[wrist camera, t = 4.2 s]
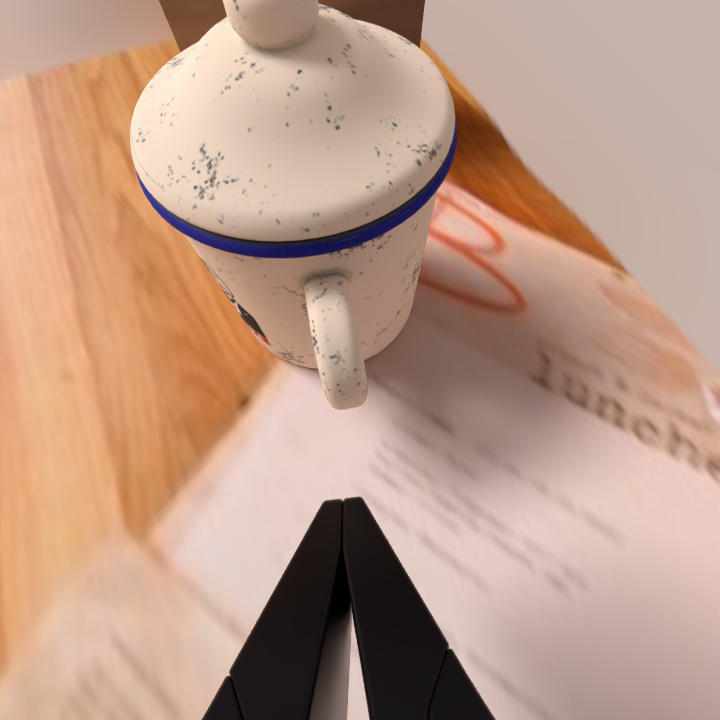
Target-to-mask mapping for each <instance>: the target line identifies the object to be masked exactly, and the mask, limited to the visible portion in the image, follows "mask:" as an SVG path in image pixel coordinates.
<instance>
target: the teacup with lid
mask: <svg viewBox="0 0 720 720" xmlns="http://www.w3.org/2000/svg"><path fill="white" fill-rule="evenodd" d="M223 3H224V7H225V10H226V14H227V17H226V18H224V19H222V20H221V21H220V22H218V23H217V24H216V25H214V26H213V27H212V28H211V29H210V30H209V31H208V32H207V33H206V34H205V35H204V36H203V37H202V38H201V40H200V41H199V42H197V43H195V44H193V45H192V46H190V47H188V48H187V49H185V50H184V51H182V52H181V53H179V54H178V55H177V56H175V57H174V58H173V59H171V60H170V61H169V62H168V63H167V64H166V65H164V66H163V67H162V68H161V69H160V70H159V71H158V72H157V73H156V74H155V76H154V77H153V78H152V79H151V81H150V82H149V83H148V85H147V86H146V88H145V89H144V91H143V92H142V94H141V96H140V98H139V100H138V102H137V104H136V107H135V110H134V113H133V117H132V123H131V132H130V143H131V152H132V159H133V162H134V165H135V169H136V172H137V176H138V179H139V182H140V185H141V187H142V189H143V191H144V194H145V195H146V197H147V198H148V200H149V201H150V203H151V204H152V206H153V207H154V208H155V210H156V211H157V212H158V213H159V214H160V215H161V216H162V217H163V218H164V219H165V220H166V221H167V222H168V223H170V224H171V225H172V226H173V227H174V228H176V229H177V230H179V231H180V232H182V233H183V234H184V235H185V237H186V238H187V239H188V241H189V242H190V244H191V245H192V247H193V248H194V249H195V251H196V252H197V254H198V255H199V257H200V258H201V260H202V261H203V262H204V264H205V265H206V267H207V268H208V270H209V271H210V272H211V274H212V275H213V277H214V278H215V280H216V281H217V282H218V284H219V285H220V287H221V288H222V290H223V291H224V293H225V294H226V295H227V297H228V298H229V300H230V301H231V303H232V304H233V305H234V307H235V308H236V310H237V311H238V313H239V314H240V315H241V317H242V318H243V320H244V321H245V323H246V324H247V326H248V327H249V328H250V330H251V331H252V333H253V334H254V336H255V337H256V338H257V339H258V341H259V342H260V343H261V344H262V345H263V346H264V347H265V348H266V349H268V350H269V351H270V352H272V353H273V354H274V355H276V356H278V357H279V358H281V359H283V360H285V361H288V362H290V363H293V364H296V365H299V366H303V367H309V368H317V369H318V370H319V374H320V378H321V382H322V386H323V389H324V393H325V395H326V398H327V400H328V402H329V403H330V405H331V406H332V407H334V408H335V409H339V410H343V409H349V408H354V407H358V406H360V405H362V404H363V403H364V401H365V400H366V397H367V378H366V371H365V364H364V360H366V359H368V358H370V357H372V356H374V355H376V354H377V353H379V352H380V351H381V350H383V349H384V348H385V347H387V346H388V345H389V344H390V343H391V342H392V341H393V340H394V339H395V338H396V337H397V335H398V334H399V333H400V332H401V330H402V328H403V327H404V325H405V324H406V321H407V319H408V317H409V315H410V312H411V309H412V305H413V300H414V296H415V291H416V286H417V282H418V277H419V273H420V268H421V263H422V259H423V254H424V249H425V245H426V240H427V236H428V231H429V226H430V222H431V217H432V212H433V208H434V203H435V199H436V194H437V189H438V188H439V187H440V185H441V184H442V182H443V181H444V179H445V177H446V175H447V173H448V171H449V169H450V166H451V163H452V160H453V157H454V153H455V148H456V139H457V129H456V120H455V109H454V104H453V100H452V96H451V93H450V90H449V88H448V85H447V83H446V80H445V78H444V77H443V75H442V73H441V71H440V70H439V68H438V67H437V66H436V65H435V63H434V62H433V61H432V60H431V59H430V58H429V56H428V55H427V54H426V53H424V52H423V51H422V50H421V49H420V48H418V47H417V46H416V45H415V44H413V43H412V42H410V41H409V40H407V39H406V38H404V37H402V36H400V35H398V34H397V33H394V32H392V31H390V30H388V29H386V28H383V27H380V26H377V25H374V24H371V23H368V22H364V21H360V20H355V19H352V18H351V17H349V16H348V15H346V14H344V13H342V12H340V11H338V10H336V9H334V8H331V7H328V6H325V5H322V4H319V3H318V0H223Z"/></svg>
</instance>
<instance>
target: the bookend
mask: <svg viewBox="0 0 720 720" xmlns="http://www.w3.org/2000/svg"><path fill="white" fill-rule="evenodd" d="M159 1H160V4H161V6H162V9H163V11H164V13H165V16H166V18H167V20H168V23H169V25H170V28H171V30H172V32H173V34H174V37H175V40H176V42H177V44H178V47H179V49H180V51H181V52H182V51H184V50H185V49H187V48H188V47H190V46H192V45H193V44H195V43H197V42H199V41H200V40H201V38H202V37H203V36H204V35H205V34H206V33H207V32H208V31H209V30H210V29H211V28H212V27H213V26H214V25H216V24H217V23H218V22H220V21H221V20H222V19H224V18H226V17H227V14H226V10H225V7H224V3H223V0H159ZM318 3H319V4H322V5H325V6H328V7H331V8H334V9H336V10H338V11H340V12H342V13H344V14H346V15H348V16H349V17H351V18H352V19H355V20H360V21H364V22H368V23H371V24H374V25H377V26H380V27H383V28H386V29H388V30H390V31H392V32H394V33H397V34H398V35H400V36H402V37H404V38H406V39H407V40H409V41H410V42H412V43H413V44H415V45H416V46H417V47H418V48H420V40H421V31H422V21H423V13H424V4H425V0H318Z"/></svg>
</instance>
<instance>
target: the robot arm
mask: <svg viewBox="0 0 720 720" xmlns="http://www.w3.org/2000/svg"><path fill="white" fill-rule="evenodd" d="M352 614H353V620H354V627H355V633H356V639H357V645H358V651H359V657H360V664H361V670H362V676H363V682H364V688H365V694H366V700H367V707H368V713H369V719H370V720H496V719H495V718H494V716H493V715H492V713H491V712H490V710H489V708H488V707H487V705H486V704H485V702H484V700H483V699H482V697H481V696H480V694H479V692H478V691H477V689H476V688H475V686H474V684H473V683H472V681H471V680H470V678H469V677H468V675H467V673H466V672H465V670H464V668H463V667H462V665H461V663H460V661H459V660H458V658H457V656H456V655H455V653H454V651H453V650H452V649H449V643H448V642H447V640H446V638H445V637H444V635H443V633H442V631H441V630H440V628H439V626H438V625H437V623H436V621H435V620H434V618H433V616H432V615H431V613H430V611H429V609H428V608H427V606H426V604H425V603H424V601H423V599H422V598H421V596H420V594H419V593H418V591H417V589H416V588H415V586H414V584H413V582H412V581H411V579H410V577H409V576H408V574H407V572H406V571H405V569H404V567H403V566H402V564H401V562H400V560H399V559H398V557H397V555H396V554H395V552H394V550H393V549H392V547H391V545H390V544H389V542H388V540H387V538H386V537H385V535H384V533H383V532H382V530H381V528H380V527H379V525H378V523H377V522H376V520H375V518H374V516H373V515H372V513H371V511H370V510H369V508H368V506H367V505H366V503H365V501H364V500H363V498H362V497H351V498H345V499H344V500H343V501H342V500H341V499H334V500H326V501H324V502H323V503H322V505H321V507H320V509H319V510H318V512H317V514H316V516H315V518H314V519H313V521H312V523H311V525H310V527H309V528H308V530H307V532H306V534H305V536H304V537H303V539H302V541H301V543H300V545H299V546H298V548H297V550H296V552H295V554H294V555H293V557H292V559H291V561H290V563H289V564H288V566H287V568H286V570H285V572H284V573H283V575H282V577H281V579H280V581H279V582H278V584H277V586H276V588H275V590H274V591H273V593H272V595H271V597H270V599H269V600H268V602H267V604H266V606H265V608H264V609H263V611H262V613H261V615H260V617H259V618H258V620H257V622H256V624H255V626H254V627H253V629H252V631H251V633H250V635H249V636H248V638H247V640H246V642H245V644H244V645H243V647H242V649H241V651H240V653H239V654H238V656H237V658H236V660H235V662H234V663H233V665H232V667H231V669H230V671H229V673H230V676H227V677H226V678H225V679H224V681H223V683H222V685H221V686H220V688H219V690H218V692H217V694H216V695H215V697H214V699H213V701H212V703H211V705H210V706H209V708H208V710H207V711H206V713H205V715H204V717H203V718H202V720H347V707H348V686H349V666H350V645H351V622H352Z"/></svg>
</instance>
